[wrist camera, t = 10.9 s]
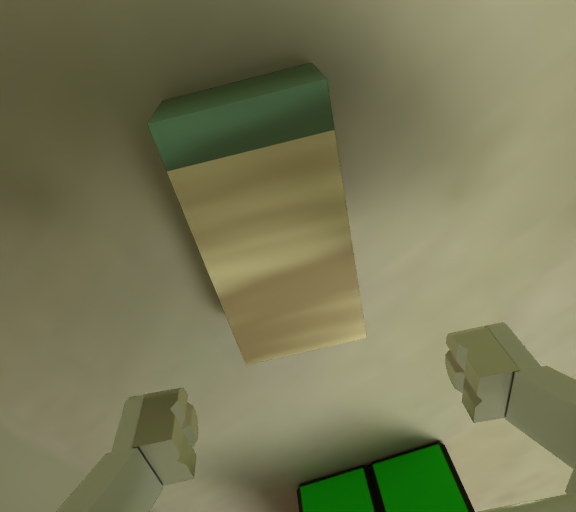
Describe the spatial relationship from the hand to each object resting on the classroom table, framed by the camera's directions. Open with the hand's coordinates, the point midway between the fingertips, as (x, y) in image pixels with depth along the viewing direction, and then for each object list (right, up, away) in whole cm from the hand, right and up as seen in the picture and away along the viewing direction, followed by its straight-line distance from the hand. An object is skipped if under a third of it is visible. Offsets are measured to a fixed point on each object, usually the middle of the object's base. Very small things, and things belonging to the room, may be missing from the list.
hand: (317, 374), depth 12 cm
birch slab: (0, 0, +6) cm, 6 cm away
